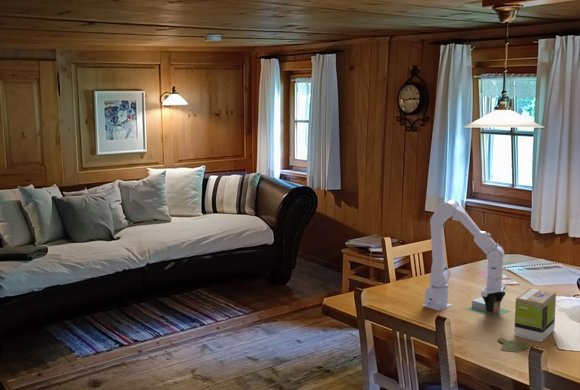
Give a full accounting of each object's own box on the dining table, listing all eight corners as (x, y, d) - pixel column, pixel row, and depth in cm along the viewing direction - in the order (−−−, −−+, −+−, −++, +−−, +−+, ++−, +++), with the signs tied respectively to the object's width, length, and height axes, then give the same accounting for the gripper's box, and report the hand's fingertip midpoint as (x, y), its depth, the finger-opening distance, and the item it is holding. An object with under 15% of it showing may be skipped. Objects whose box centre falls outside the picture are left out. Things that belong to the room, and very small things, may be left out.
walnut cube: (494, 316, 250) (494, 303, 249) (485, 313, 253) (485, 301, 252) (499, 313, 252) (500, 301, 251) (490, 311, 255) (491, 299, 254)
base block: (484, 311, 255) (485, 304, 255) (471, 307, 260) (472, 300, 259) (493, 308, 259) (493, 300, 258) (480, 304, 263) (480, 297, 263)
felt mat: (494, 318, 248) (494, 317, 248) (465, 309, 258) (465, 309, 258) (510, 311, 256) (510, 310, 256) (482, 303, 265) (482, 302, 265)
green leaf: (532, 363, 208) (532, 360, 208) (485, 345, 222) (486, 342, 222) (551, 355, 214) (551, 352, 214) (505, 338, 229) (505, 335, 229)
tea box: (527, 324, 242) (530, 287, 239) (554, 330, 236) (557, 292, 233) (513, 336, 230) (515, 296, 228) (541, 343, 224) (544, 302, 222)
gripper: (493, 282, 242) (491, 317, 245) (513, 275, 252) (511, 308, 254) (477, 278, 248) (475, 312, 250) (497, 272, 257) (495, 304, 259)
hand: (492, 310), depth 252 cm, fingers closed on walnut cube, 4 cm apart
